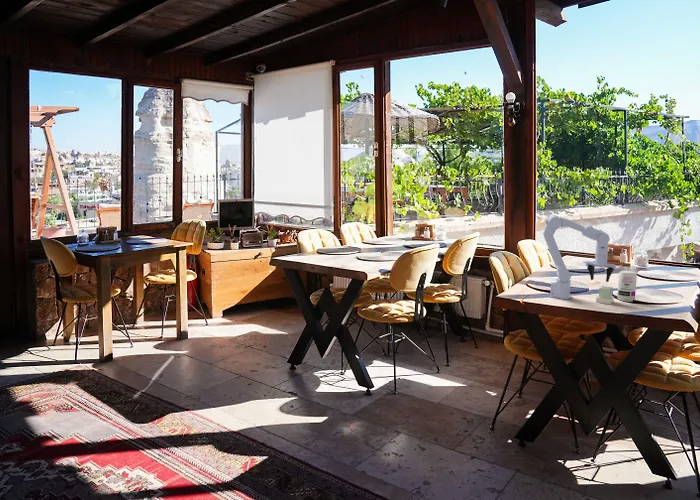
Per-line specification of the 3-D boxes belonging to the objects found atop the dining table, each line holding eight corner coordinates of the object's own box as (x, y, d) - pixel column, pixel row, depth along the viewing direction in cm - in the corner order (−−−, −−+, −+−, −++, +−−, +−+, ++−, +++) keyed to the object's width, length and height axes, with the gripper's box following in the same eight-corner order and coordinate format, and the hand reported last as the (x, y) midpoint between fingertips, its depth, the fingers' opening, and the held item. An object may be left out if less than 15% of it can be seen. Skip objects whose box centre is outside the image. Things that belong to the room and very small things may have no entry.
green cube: (598, 297, 295) (599, 287, 294) (601, 295, 298) (602, 286, 298) (608, 298, 291) (609, 289, 291) (612, 296, 295) (612, 287, 294)
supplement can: (629, 298, 303) (631, 270, 300) (637, 302, 295) (639, 273, 292) (614, 298, 303) (616, 270, 300) (622, 302, 294) (624, 273, 292)
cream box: (595, 303, 295) (596, 297, 294) (599, 300, 300) (599, 294, 300) (610, 305, 291) (610, 299, 290) (613, 302, 296) (613, 296, 296)
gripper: (584, 254, 299) (582, 280, 301) (613, 257, 290) (612, 283, 292) (588, 252, 305) (587, 277, 307) (617, 255, 295) (616, 281, 298)
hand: (599, 280), depth 300 cm, fingers open, 7 cm apart
